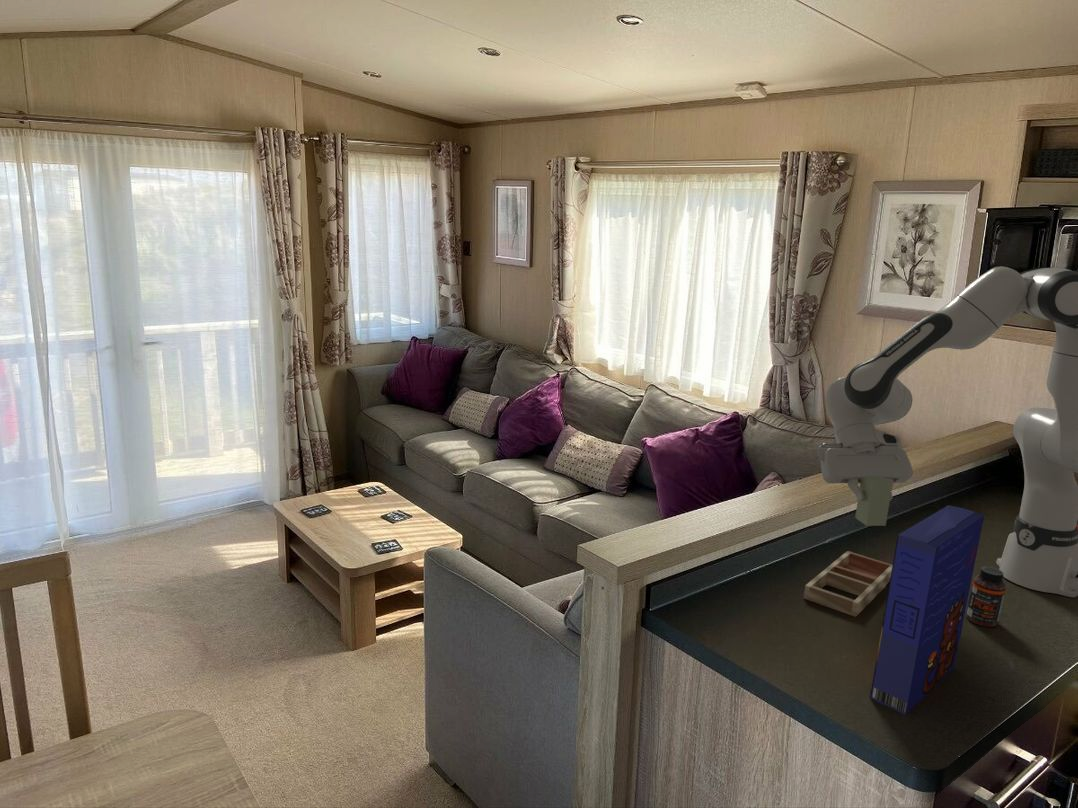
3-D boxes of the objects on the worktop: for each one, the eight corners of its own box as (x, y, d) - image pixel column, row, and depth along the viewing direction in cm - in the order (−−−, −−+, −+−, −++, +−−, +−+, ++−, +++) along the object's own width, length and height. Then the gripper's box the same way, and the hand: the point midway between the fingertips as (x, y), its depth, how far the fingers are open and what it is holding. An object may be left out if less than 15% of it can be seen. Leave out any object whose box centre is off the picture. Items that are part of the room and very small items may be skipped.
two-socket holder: (845, 562, 189) (847, 550, 188) (894, 577, 182) (896, 565, 181) (803, 598, 170) (805, 585, 169) (855, 616, 163) (857, 603, 162)
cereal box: (920, 653, 150) (948, 503, 143) (954, 667, 146) (984, 514, 139) (869, 698, 136) (898, 533, 128) (905, 715, 131) (936, 545, 124)
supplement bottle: (966, 624, 163) (977, 572, 160) (963, 611, 168) (973, 561, 165) (1000, 631, 160) (1011, 579, 158) (995, 617, 166) (1006, 567, 163)
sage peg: (855, 517, 179) (861, 475, 177) (874, 517, 180) (880, 475, 178) (866, 525, 175) (873, 482, 172) (885, 525, 176) (892, 482, 173)
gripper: (821, 437, 178) (837, 494, 171) (906, 437, 181) (925, 493, 174) (809, 450, 184) (824, 506, 177) (892, 450, 187) (910, 504, 180)
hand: (875, 499), depth 175 cm, fingers closed on sage peg, 5 cm apart
